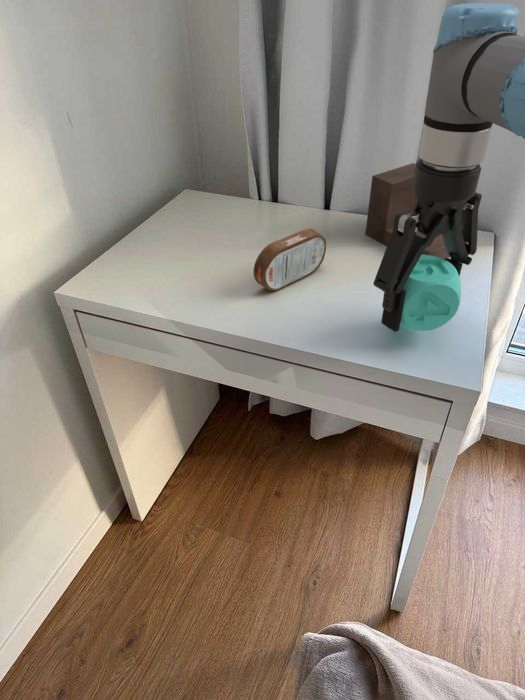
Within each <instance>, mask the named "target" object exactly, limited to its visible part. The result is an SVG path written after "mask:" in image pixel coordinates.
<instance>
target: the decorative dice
mask: <svg viewBox="0 0 525 700" xmlns="http://www.w3.org/2000/svg"><path fill="white" fill-rule="evenodd" d="M460 279H461V278H460V276H459V275H458V272H457V270H456V268H455V267H454V266H453V265H452V264H451V263H450V262H448V261H446V260H444V259H442V258H439V257H435V256H430V255H421V257H420V258H419V260H418V262H417V264H416V265H415V267H414V269H413V271H412V273H411V274H410V276H409V278H408V280H407V281H406V283H405V285H404V287H403V288H402V289H403V290H405V291H406V294H405V300H404V305H403V311H402V316H401V321H400V327H403V328H405V329H408V330H411V331H412V330H413V331H416V332H418V331H419V332H427V331H432V330H437V329H438V328H440V327H442V326H444V325H446V324H447V323H448V322H450V321H451V320H452V319H453V318H454V317H455V316H456V314H457V312H458V311H459V308H460V305H461V298H462V285H461V280H460ZM396 282H397V281H396Z"/></svg>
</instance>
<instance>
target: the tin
mask: <svg viewBox="0 0 525 700" xmlns="http://www.w3.org/2000/svg"><path fill="white" fill-rule="evenodd" d="M326 252H327V240H326V238H325V237H324V236H323V235H322V234H321V233H319V232H317V231H316V230H315V229H314V228H311V227H310V228H309V227H308V228H304V229H301V230H299V231H297V232H294V233H292V234H290V235H287V236H285V237H282V238H280V239H277V240H275V241H272V242H270V243H269V244H267V245H266V246H265V247H264V248H263V249H262V250H261V251H260V253H259V254H258V255H257V257H256V260H255V262H254V265H253V278H254V280H255V282H256V283H257V284H258V285H260V286H261V287H263V288H265V289H266V290H268V291H272V292H274V291H275V292H276V291H279V290H282V289H284V288H285V287H288V286H290V285H292V284H294V283H296V282H298V281H301V280H303V279H305V278H306V277H310V276H312V275H313V274H314V273H315V272H316V271H317V270H318V269H319V268H320V266H321V265H322V264H323V262H324V260H325V257H326V256H325V255H326Z"/></svg>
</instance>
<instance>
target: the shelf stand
mask: <svg viewBox="0 0 525 700" xmlns="http://www.w3.org/2000/svg"><path fill="white" fill-rule="evenodd" d="M415 167H416V163H414V162H411V163H409V164H406V165H403V166H399V167H396V168H393V169H390V170H387V171H384V172H380V173H377V174H373V175H372V177H371V185H370V191H369V192H370V193H369V200H368V209H367V218H366V225H365V232H364V233H365V235H366V236H367V237H369V238H371V239H373V240H375V241H377V242H379V244H380V243H381V244H383V245H385V246H386V247H387V245H388V243H389V240H390V237H391V235H392V232H393V226H394V219H395V216H396V215H397V214H398V213H402V214H404V215H407V214H410V213H412V211H413V209H414V207H415V204H416V201H417V198H416V195H415V193H414V192H413V189H412V185H413V179H414V173H415ZM416 235H417V236H420V237H422V238H425V237H426V236H424V235H422V234H420V233H419V232H418V230H417V231H416ZM465 243H467V244H468V242H465ZM422 255H430V256H435V257H439V258H442V259H445V258H450V257H449V256H448V253H447V250H446V246H445V243H444V240H443V236H442V234H440V235H439V236H437V237H436V238H435V239H434V241H433V242H432V244H431V245H430V246H429V247H426V248H425V250H424V251H423V253H422Z"/></svg>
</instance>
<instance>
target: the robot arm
mask: <svg viewBox="0 0 525 700" xmlns="http://www.w3.org/2000/svg"><path fill="white" fill-rule="evenodd" d="M519 19H520V10H519V8H518V7H517V6H515V5H513V4H509V3H499V2H498V3H497V2H495V3H494V2H470V3H460V4H454V5H451V6H450V7H448V8H447V9H446V10H445V11H444V12H443V14H442V16H441V19H440V25H439V29H438V34H437V39H436V44H435V46H434V47H433V50H432V62H431V69H430V74H429V82H428V88H427V95H426V101H425V108H424V118H423V124H422V130H421V134H420V140H419V147H418V151H417V156H418V157H419V159H418V160H417V161H416V163H415V164H416V167H415V173H414V179H413V185H412V189H413V192H414V193H415V195H416V198H417V201H416V204H415V207H414V209H413V211H412V213H410V214H407V215H404V214H402V213H398V214H397V215H396V216H395V219H394V226H393V232H392V235H391V237H390V240H389V243H388V245H387V246H386V248H385V250H384V254H383V256H382V259H381V261H380V264H379V267H378V270H377V272H376V275H375V277H374V281H373V283H372V284H373V286H374V287H376V288H377V289H379V290H381V291H382V292H383V296H382V297H383V298H382V303H381V306H382V315H381V322H380V324H382V325H383V326H385V327H387V328H388V329H389V330H391V331H392V332H394V333H396V332H398V331H400V327H401V325H400V321H401V316H402V311H403V305H404V300H405V294H406V291H405V290H403V289H402V288H403V287H404V285H405V283H406V281H407V280H408V278H409V276H410V274H411V273H412V271H413V269H414V267H415V265H416V264H417V262H418V260H419V258H420V257H421V255H422V253H423V251H424V250H425V248H426V247H429V246H430V245H431V244H432V242H433V241H434V239H435V238H436V237H437V236H439V235H440V234H442V236H443V240H444V243H445V246H446V250H447V253H448V256H449V257H448V258H445V259H444V260H446V261H448V262H450V263H451V264H452V265H453V266H454V267H455V268H456V270H457V272H458V275H459V277H460V276H461V271H462V268H463V264H464V265H466V266H469V265H471V263H472V261H473V258H472V257H471V256H474V255H475V254H476V253H477V251H478V250H477V249H478V226H479V225H478V224H479V208H480V205H481V201H482V197H483V195H482V194H481V193H479V192H477V189H478V184H479V179H480V176H481V171H482V167H481V165H480V164H482V163H483V162H484V160H485V159H486V155H487V148H488V144H489V141H490V136H491V132H492V128H493V124H494V125H496V126H499V127H500V128H503V129H505V130H507V131H509V132H511V133H514V135H515V136H517V137H522V139H524V140H525V35H524V36H523V35H520V34H517V33H518V31H519V27H518V26H519ZM417 230H418V232H419V233H420V234H422V235H424V236H426V237H425V238H422V237H420V236H417V235H416V231H417ZM465 242H468V243H465ZM469 255H470V256H469ZM396 281H397V282H396Z"/></svg>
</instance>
